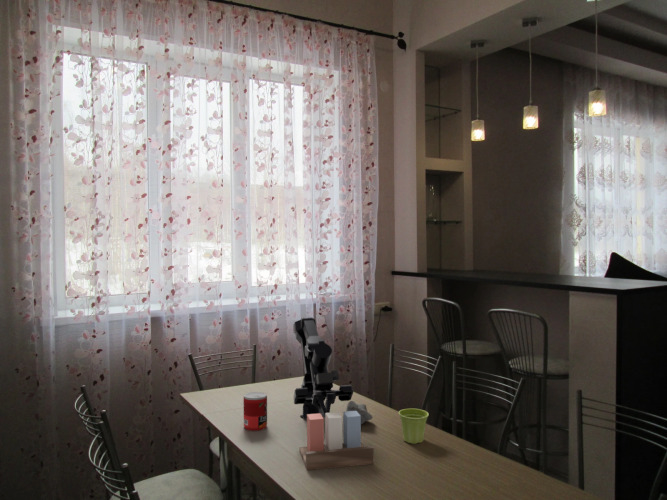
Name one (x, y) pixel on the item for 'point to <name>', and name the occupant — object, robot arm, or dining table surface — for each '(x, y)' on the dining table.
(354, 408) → the fossil
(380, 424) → the dining table surface
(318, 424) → the red rectangular block
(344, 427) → the light blue tall block
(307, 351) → the robot arm
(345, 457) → the wooden block stand
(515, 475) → the dining table surface
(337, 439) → the white tall block
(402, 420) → the plant pot
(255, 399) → the canned food
